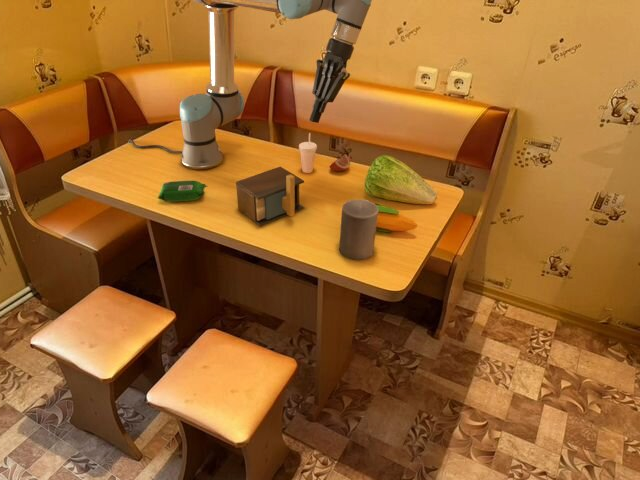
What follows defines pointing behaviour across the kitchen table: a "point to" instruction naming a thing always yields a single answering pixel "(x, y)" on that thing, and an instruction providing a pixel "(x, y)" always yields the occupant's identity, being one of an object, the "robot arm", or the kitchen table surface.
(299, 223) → the kitchen table surface
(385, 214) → the corn
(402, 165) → the lettuce
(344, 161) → the fruit slice
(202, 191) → the snack package
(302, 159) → the smoothie
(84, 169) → the kitchen table surface
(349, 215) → the pillar candle
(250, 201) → the box
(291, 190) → the sliding door
